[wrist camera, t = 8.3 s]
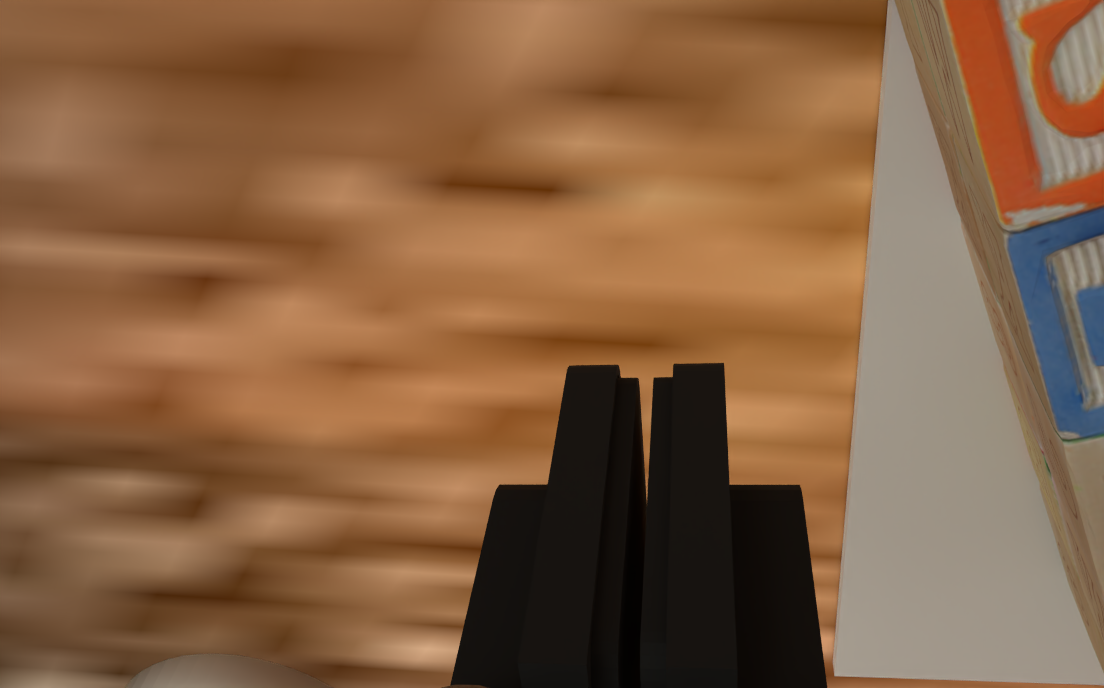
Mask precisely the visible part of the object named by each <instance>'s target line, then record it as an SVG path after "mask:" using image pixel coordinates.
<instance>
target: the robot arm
mask: <svg viewBox="0 0 1104 688" xmlns="http://www.w3.org/2000/svg"><path fill="white" fill-rule="evenodd" d="M443 688H827V682H826V675H825V667H824V659H823V651H822V643H821V636H820V628H819V620H818V612H817V604H816V597H815V589H814V581H813V573H812V566H811V558H810V550H809V542H808V534H807V527H806V519H805V511H804V503H803V497H802V491H801V487H800V485H729V465H728V443H727V420H726V397H725V375H724V363H703V364H674V365H673V377H659V378H654V381H653V400H652V419H651V439H650V459H649V478H648V498H647V500H646V484H645V468H644V452H643V436H642V420H641V404H640V388H639V379H638V378H621V377H620V369H619V366H618V365H576V366H569V367H568V369H567V374H566V380H565V385H564V391H563V397H562V403H561V409H560V415H559V421H558V427H557V433H556V439H555V445H554V450H553V456H552V462H551V468H550V474H549V480H548V485H499V486H498V488H497V489H496V492H495V495H494V498H493V502H492V506H491V510H490V515H489V519H488V523H487V528H486V532H485V536H484V541H483V545H482V550H481V554H480V558H479V563H478V567H477V571H476V576H475V580H474V584H473V589H472V593H471V597H470V602H469V606H468V611H467V615H466V619H465V624H464V628H463V632H462V637H461V641H460V645H459V650H458V654H457V658H456V663H455V667H454V672H453V676H452V680H451V685H450V686H447V687H443Z"/></svg>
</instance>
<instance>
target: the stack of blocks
mask: <svg viewBox="0 0 1104 688" xmlns="http://www.w3.org/2000/svg"><path fill="white" fill-rule="evenodd" d="M894 1H895V4H896V7H897V10H898V14H899V17H900V20H901V23H902V26H903V30H904V33H905V36H906V39H907V42H908V45H909V48H910V50H911V53H912V56H913V59H914V64H915V68H916V73H917V76H918V80H919V83H920V86H921V89H922V93H923V96H924V99H925V103H926V106H927V109H928V112H929V116H930V119H931V122H932V125H933V129H934V132H935V135H936V139H937V142H938V145H939V148H940V152H941V155H942V158H943V161H944V165H945V169H946V172H947V176H948V180H949V183H950V187H951V191H952V194H953V198H954V202H955V206H956V208H957V211H958V213H959V215H960V218H961V228H962V231H963V235H964V238H965V241H966V245H967V248H968V251H969V254H970V258H971V261H972V264H973V268H974V271H975V274H976V277H977V281H978V284H979V287H980V291H981V294H982V297H983V301H984V304H985V307H986V311H987V314H988V317H989V321H990V324H991V327H992V331H993V334H994V337H995V341H996V343H997V346H998V349H999V351H1000V354H1001V357H1002V360H1003V368H1004V372H1005V375H1006V378H1007V382H1008V385H1009V388H1010V391H1011V395H1012V398H1013V401H1014V405H1015V408H1016V412H1017V415H1018V418H1019V422H1020V425H1021V429H1022V432H1023V435H1024V439H1025V442H1026V445H1027V449H1028V452H1029V456H1030V459H1031V462H1032V465H1033V468H1034V470H1035V473H1036V475H1037V478H1038V480H1039V484H1040V491H1041V494H1042V498H1043V501H1044V504H1045V508H1046V511H1047V514H1048V517H1049V520H1050V524H1051V527H1052V530H1053V533H1054V536H1055V540H1056V543H1057V547H1058V550H1059V554H1060V557H1061V560H1062V564H1063V567H1064V570H1065V573H1066V577H1067V581H1068V584H1069V587H1070V589H1071V592H1072V594H1073V597H1074V600H1075V602H1076V605H1077V607H1078V610H1079V612H1080V615H1081V618H1082V620H1083V623H1084V625H1085V628H1086V630H1087V633H1088V636H1089V638H1090V641H1091V643H1092V646H1093V648H1094V651H1095V653H1096V656H1097V658H1098V661H1099V663H1100V665H1101V668H1102V670H1103V673H1104V0H894Z"/></svg>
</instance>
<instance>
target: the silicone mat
mask: <svg viewBox="0 0 1104 688" xmlns="http://www.w3.org/2000/svg"><path fill="white" fill-rule="evenodd" d="M833 667H834V675H835V676H847V677H877V678H906V679H935V680H965V681H994V682H1023V683H1053V684H1082V685H1104V673H1103V670H1102V668H1101V665H1100V663H1099V661H1098V658H1097V656H1096V653H1095V651H1094V648H1093V646H1092V643H1091V641H1090V638H1089V636H1088V633H1087V630H1086V628H1085V625H1084V623H1083V620H1082V618H1081V615H1080V612H1079V610H1078V607H1077V605H1076V602H1075V600H1074V597H1073V594H1072V592H1071V589H1070V587H1069V584H1068V581H1067V577H1066V573H1065V570H1064V567H1063V564H1062V560H1061V557H1060V554H1059V550H1058V547H1057V543H1056V540H1055V536H1054V533H1053V530H1052V527H1051V524H1050V520H1049V517H1048V514H1047V511H1046V508H1045V504H1044V501H1043V498H1042V494H1041V491H1040V484H1039V480H1038V478H1037V475H1036V473H1035V470H1034V468H1033V465H1032V462H1031V459H1030V456H1029V452H1028V449H1027V445H1026V442H1025V439H1024V435H1023V432H1022V429H1021V425H1020V422H1019V418H1018V415H1017V412H1016V408H1015V405H1014V401H1013V398H1012V395H1011V391H1010V388H1009V385H1008V382H1007V378H1006V375H1005V372H1004V368H1003V360H1002V357H1001V354H1000V351H999V349H998V346H997V343H996V341H995V337H994V334H993V331H992V327H991V324H990V321H989V317H988V314H987V311H986V307H985V304H984V301H983V297H982V294H981V291H980V287H979V284H978V281H977V277H976V274H975V271H974V268H973V264H972V261H971V258H970V254H969V251H968V248H967V245H966V241H965V238H964V235H963V231H962V228H961V218H960V215H959V213H958V211H957V208H956V206H955V202H954V198H953V194H952V191H951V187H950V183H949V180H948V176H947V172H946V169H945V165H944V161H943V158H942V155H941V152H940V148H939V145H938V142H937V139H936V135H935V132H934V129H933V125H932V122H931V119H930V116H929V112H928V109H927V106H926V103H925V99H924V96H923V93H922V89H921V86H920V83H919V80H918V76H917V73H916V68H915V64H914V59H913V56H912V53H911V50H910V48H909V45H908V42H907V39H906V36H905V33H904V30H903V26H902V23H901V20H900V17H899V14H898V10H897V7H896V4H895V1H894V0H888V9H887V21H886V33H885V45H884V57H883V69H882V81H881V93H880V105H879V117H878V129H877V141H876V153H875V165H874V177H873V188H872V200H871V212H870V224H869V236H868V248H867V260H866V272H865V284H864V296H863V308H862V320H861V332H860V344H859V356H858V368H857V380H856V391H855V403H854V415H853V427H852V439H851V451H850V463H849V475H848V487H847V499H846V511H845V523H844V535H843V547H842V559H841V571H840V582H839V594H838V606H837V618H836V630H835V642H834V654H833Z"/></svg>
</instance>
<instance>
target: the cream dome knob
mask: <svg viewBox="0 0 1104 688" xmlns="http://www.w3.org/2000/svg"><path fill="white" fill-rule="evenodd" d="M125 688H333V687H331V686H329V685H327V684H325V683H323V682H321V681H320V680H318V679H316V678H314V677H311V676H309V675H307V674H304V673H302V672H300V671H298V670H295V669H292V668H289V667H286V666H283V665H280V664H277V663H273V662H269V661H265V660H261V659H257V658H251V657H245V656H239V655H228V654H195V655H187V656H180V657H176V658H172V659H167V660H164V661H162V662H159V663H156V664H154V665H152V666H150V667H148V668H146V669H145V670H143V671H141V672H140V673H139V674H137V675H136V676H135V677H134V678H132V679H131V680H130V682H129V683H128V684H127V685H126V687H125Z"/></svg>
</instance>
